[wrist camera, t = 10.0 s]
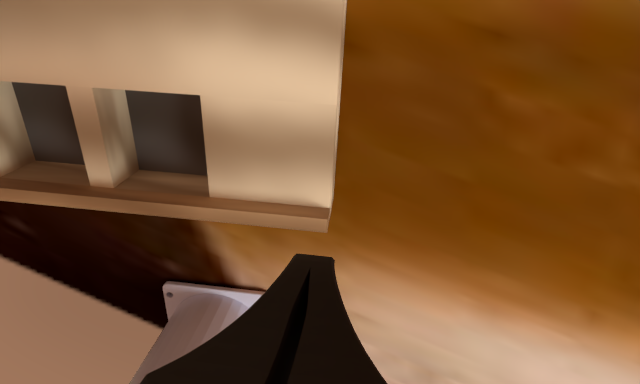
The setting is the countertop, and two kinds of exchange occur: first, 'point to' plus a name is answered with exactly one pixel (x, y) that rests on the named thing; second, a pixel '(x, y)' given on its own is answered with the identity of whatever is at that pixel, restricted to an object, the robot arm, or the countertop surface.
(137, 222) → the countertop surface
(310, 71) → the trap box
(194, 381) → the robot arm
